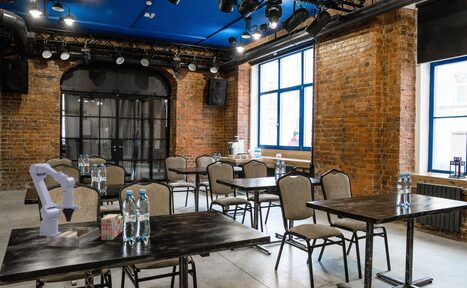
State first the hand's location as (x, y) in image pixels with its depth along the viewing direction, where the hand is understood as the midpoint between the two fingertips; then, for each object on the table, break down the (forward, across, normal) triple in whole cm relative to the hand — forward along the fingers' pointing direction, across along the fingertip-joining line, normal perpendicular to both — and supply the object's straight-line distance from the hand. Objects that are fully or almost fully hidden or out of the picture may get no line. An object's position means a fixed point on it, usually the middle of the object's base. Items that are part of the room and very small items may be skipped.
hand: (68, 221), depth 215 cm
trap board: (+9, +7, -6) cm, 13 cm away
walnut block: (+6, +12, -6) cm, 15 cm away
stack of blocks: (+10, +23, +9) cm, 26 cm away
